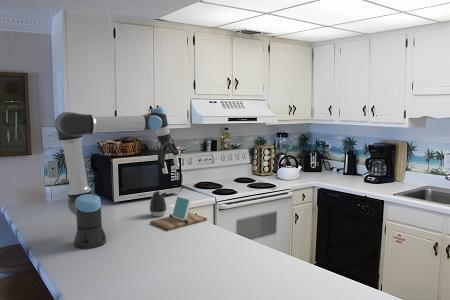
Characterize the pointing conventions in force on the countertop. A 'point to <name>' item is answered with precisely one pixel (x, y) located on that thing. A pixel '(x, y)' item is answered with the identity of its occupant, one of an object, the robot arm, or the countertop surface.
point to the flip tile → (181, 208)
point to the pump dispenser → (158, 204)
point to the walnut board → (177, 221)
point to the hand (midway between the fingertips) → (171, 169)
